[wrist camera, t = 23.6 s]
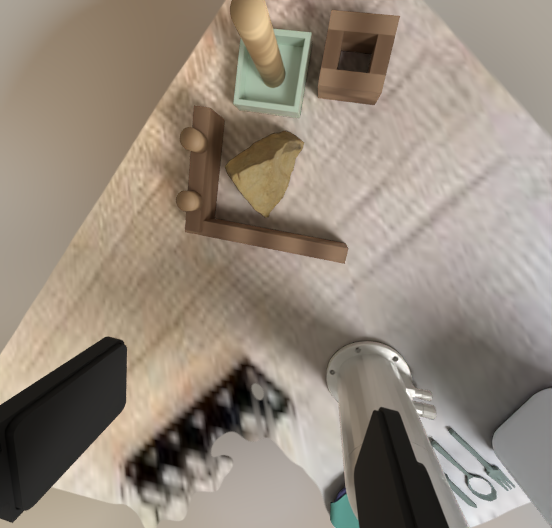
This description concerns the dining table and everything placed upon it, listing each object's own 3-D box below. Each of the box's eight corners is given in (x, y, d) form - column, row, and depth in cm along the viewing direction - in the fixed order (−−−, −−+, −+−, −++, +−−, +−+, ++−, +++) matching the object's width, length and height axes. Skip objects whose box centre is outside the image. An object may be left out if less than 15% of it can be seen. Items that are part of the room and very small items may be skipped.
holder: (390, 38, 31) (399, 15, 27) (374, 105, 33) (381, 92, 29) (330, 32, 32) (331, 9, 28) (318, 97, 34) (317, 85, 30)
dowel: (287, 61, 33) (267, -13, 21) (283, 89, 33) (262, 31, 22) (263, 59, 33) (232, -15, 22) (260, 86, 34) (228, 28, 22)
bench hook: (370, 140, 34) (383, 125, 27) (342, 256, 38) (347, 270, 31) (207, 117, 36) (179, 97, 29) (197, 228, 41) (171, 235, 33)
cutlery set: (309, 498, 50) (308, 511, 48) (444, 413, 42) (451, 425, 40) (382, 563, 51) (385, 580, 49) (527, 493, 43) (538, 509, 41)
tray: (312, 44, 32) (311, 32, 30) (299, 118, 35) (298, 112, 32) (247, 37, 33) (241, 25, 31) (239, 110, 35) (233, 103, 33)
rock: (286, 101, 32) (216, 143, 33) (311, 122, 26) (224, 173, 27) (313, 174, 40) (255, 207, 41) (337, 203, 34) (268, 240, 35)
